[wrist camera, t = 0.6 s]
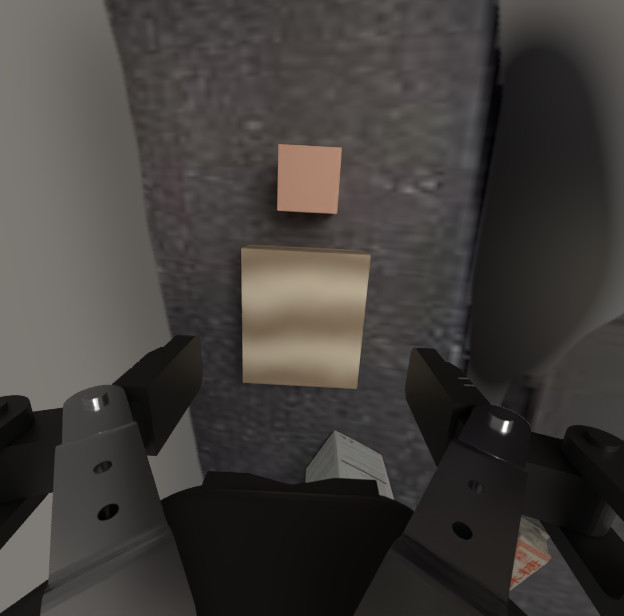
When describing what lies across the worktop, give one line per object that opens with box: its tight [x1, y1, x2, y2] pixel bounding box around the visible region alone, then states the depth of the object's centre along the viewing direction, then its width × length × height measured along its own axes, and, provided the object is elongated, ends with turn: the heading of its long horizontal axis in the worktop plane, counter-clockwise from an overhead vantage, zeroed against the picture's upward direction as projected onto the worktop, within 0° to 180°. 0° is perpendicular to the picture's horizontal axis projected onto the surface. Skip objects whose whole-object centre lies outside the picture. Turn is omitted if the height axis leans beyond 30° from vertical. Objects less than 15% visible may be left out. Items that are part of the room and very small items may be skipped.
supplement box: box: [306, 431, 394, 500], centre depth 34 cm, size 7×7×13 cm
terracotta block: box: [277, 144, 342, 214], centre depth 28 cm, size 5×5×6 cm
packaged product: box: [510, 517, 551, 590], centre depth 43 cm, size 18×5×10 cm
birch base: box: [241, 244, 371, 389], centre depth 33 cm, size 14×12×4 cm
